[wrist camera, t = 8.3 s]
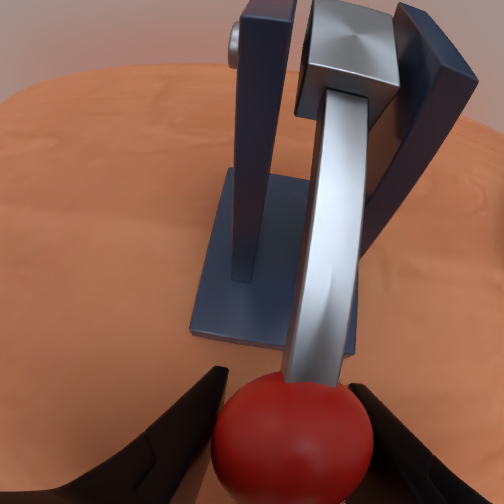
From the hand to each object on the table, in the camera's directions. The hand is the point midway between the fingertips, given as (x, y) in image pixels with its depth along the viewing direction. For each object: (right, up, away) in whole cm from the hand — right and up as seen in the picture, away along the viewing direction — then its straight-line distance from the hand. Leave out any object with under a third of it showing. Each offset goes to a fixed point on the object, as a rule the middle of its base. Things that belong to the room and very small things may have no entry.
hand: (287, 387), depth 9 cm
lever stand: (+1, +3, +9) cm, 10 cm away
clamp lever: (+1, +4, 0) cm, 4 cm away
